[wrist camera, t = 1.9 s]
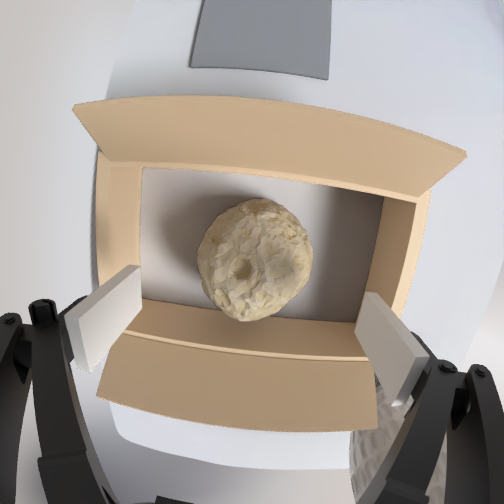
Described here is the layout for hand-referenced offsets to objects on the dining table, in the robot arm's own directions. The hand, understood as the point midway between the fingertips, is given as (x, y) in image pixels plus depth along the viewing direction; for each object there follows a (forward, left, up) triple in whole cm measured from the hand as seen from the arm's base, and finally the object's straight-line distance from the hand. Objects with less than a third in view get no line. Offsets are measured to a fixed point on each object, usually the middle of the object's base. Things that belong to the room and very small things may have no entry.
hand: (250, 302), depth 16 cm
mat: (-22, -1, -10) cm, 24 cm away
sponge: (0, 0, -10) cm, 10 cm away
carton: (0, 0, -10) cm, 10 cm away
